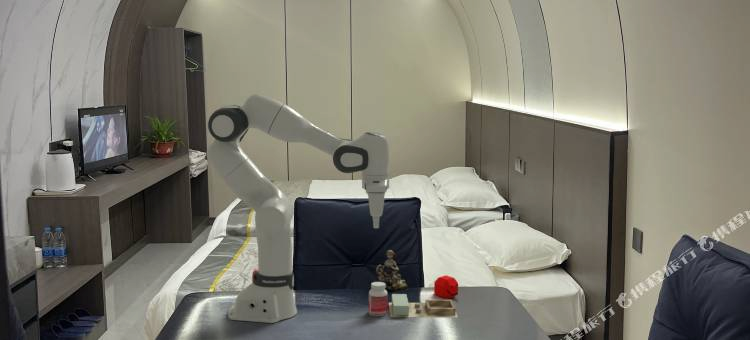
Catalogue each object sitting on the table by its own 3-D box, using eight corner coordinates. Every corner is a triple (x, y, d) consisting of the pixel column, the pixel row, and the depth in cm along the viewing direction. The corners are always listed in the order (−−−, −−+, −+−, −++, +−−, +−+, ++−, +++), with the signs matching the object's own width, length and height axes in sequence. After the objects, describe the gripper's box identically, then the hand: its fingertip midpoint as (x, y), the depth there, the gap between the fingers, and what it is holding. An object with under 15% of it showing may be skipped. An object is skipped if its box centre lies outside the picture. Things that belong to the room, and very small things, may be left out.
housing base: (390, 320, 219) (390, 310, 218) (388, 305, 233) (388, 297, 232) (457, 320, 219) (458, 311, 219) (452, 306, 233) (452, 297, 233)
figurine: (373, 293, 247) (373, 253, 245) (379, 284, 257) (380, 246, 255) (404, 295, 244) (405, 255, 242) (410, 286, 254) (410, 248, 252)
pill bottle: (390, 317, 222) (391, 284, 220) (375, 320, 218) (375, 287, 217) (380, 311, 227) (380, 279, 225) (364, 315, 224) (365, 282, 222)
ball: (446, 303, 236) (447, 282, 235) (430, 297, 242) (430, 277, 241) (461, 298, 242) (462, 278, 241) (445, 293, 248) (445, 273, 247)
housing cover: (393, 315, 220) (393, 305, 219) (391, 303, 231) (391, 294, 231) (408, 315, 220) (408, 305, 219) (406, 303, 232) (406, 294, 231)
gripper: (365, 178, 228) (365, 218, 229) (366, 187, 207) (366, 231, 209) (384, 177, 228) (384, 217, 230) (386, 187, 207) (386, 231, 209)
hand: (375, 224), depth 219 cm, fingers open, 8 cm apart
